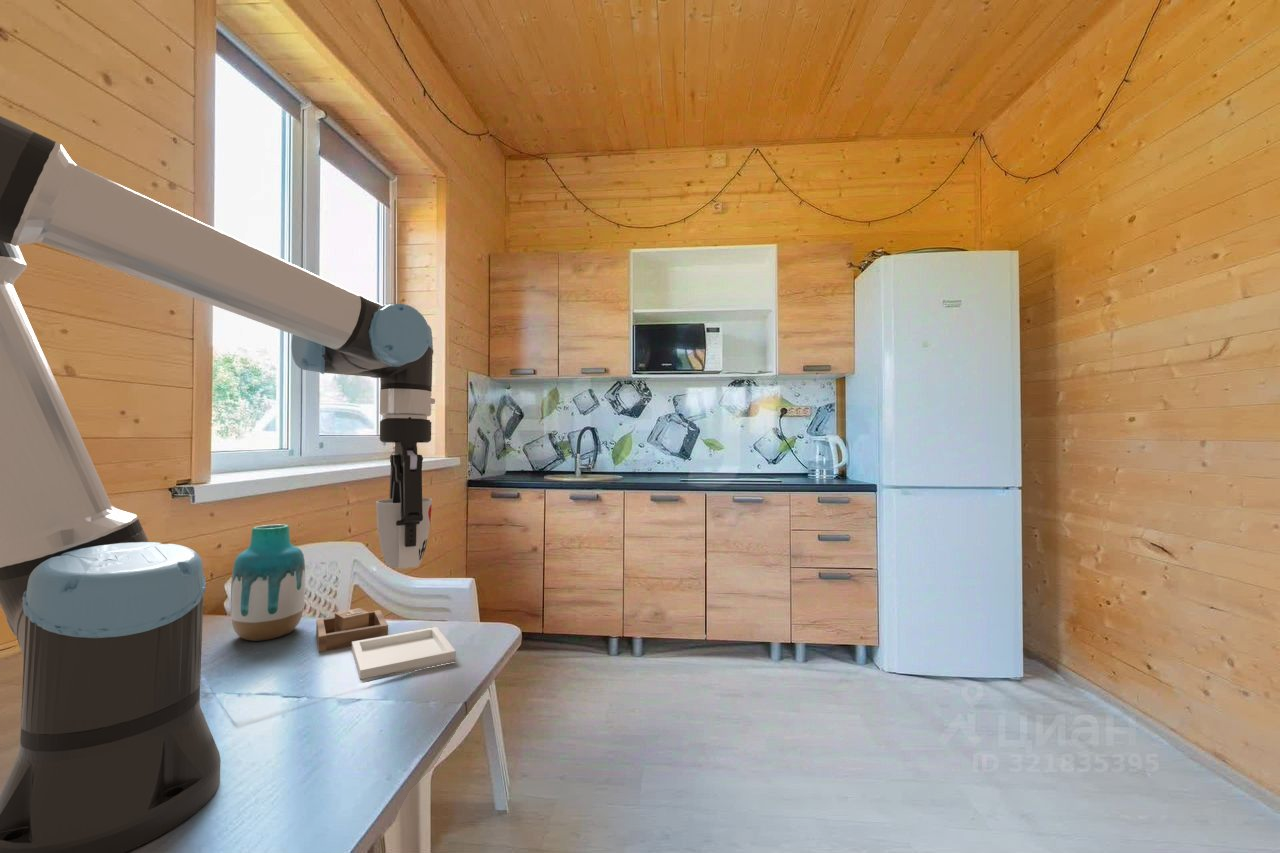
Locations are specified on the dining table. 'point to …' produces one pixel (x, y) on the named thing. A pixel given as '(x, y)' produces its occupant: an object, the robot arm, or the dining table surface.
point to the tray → (401, 653)
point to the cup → (390, 532)
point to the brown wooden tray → (348, 632)
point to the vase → (268, 585)
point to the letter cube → (351, 619)
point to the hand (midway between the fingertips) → (403, 562)
